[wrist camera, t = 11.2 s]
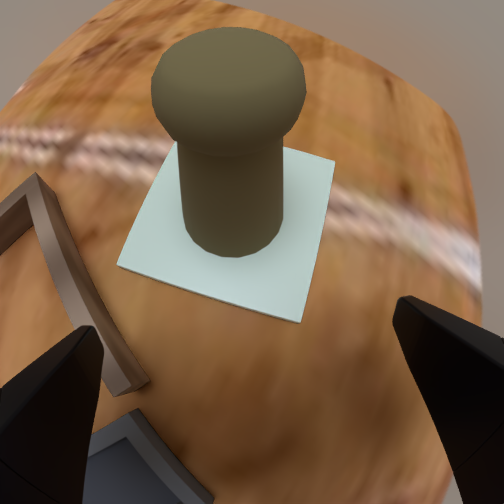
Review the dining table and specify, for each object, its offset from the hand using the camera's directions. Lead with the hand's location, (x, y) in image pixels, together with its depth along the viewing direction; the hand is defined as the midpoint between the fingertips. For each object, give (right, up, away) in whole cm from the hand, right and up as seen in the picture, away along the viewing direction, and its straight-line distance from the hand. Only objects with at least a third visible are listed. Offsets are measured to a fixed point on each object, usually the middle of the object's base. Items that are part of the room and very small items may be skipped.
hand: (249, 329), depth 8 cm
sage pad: (-1, +5, +10) cm, 11 cm away
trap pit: (-9, -13, +4) cm, 16 cm away
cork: (-1, +5, +10) cm, 11 cm away
